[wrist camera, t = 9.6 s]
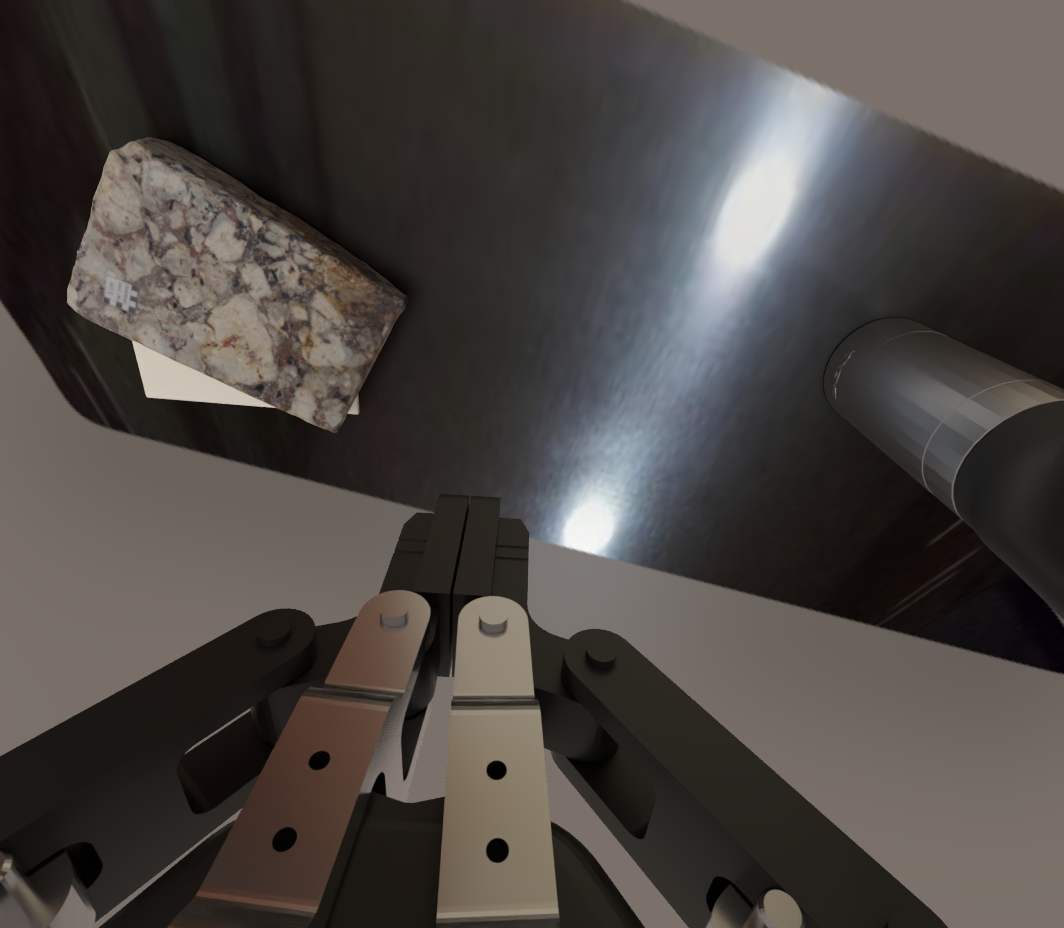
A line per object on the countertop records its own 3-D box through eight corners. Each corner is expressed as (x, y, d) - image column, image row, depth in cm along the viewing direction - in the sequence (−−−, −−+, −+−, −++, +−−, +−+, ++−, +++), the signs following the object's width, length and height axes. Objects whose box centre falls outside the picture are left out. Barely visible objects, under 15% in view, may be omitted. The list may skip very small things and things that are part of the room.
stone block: (328, 447, 44) (48, 307, 38) (346, 417, 50) (108, 293, 44) (410, 299, 40) (111, 117, 34) (418, 286, 47) (167, 131, 41)
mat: (351, 285, 45) (350, 286, 45) (359, 412, 50) (357, 414, 50) (116, 263, 44) (112, 264, 44) (149, 395, 49) (146, 397, 49)
